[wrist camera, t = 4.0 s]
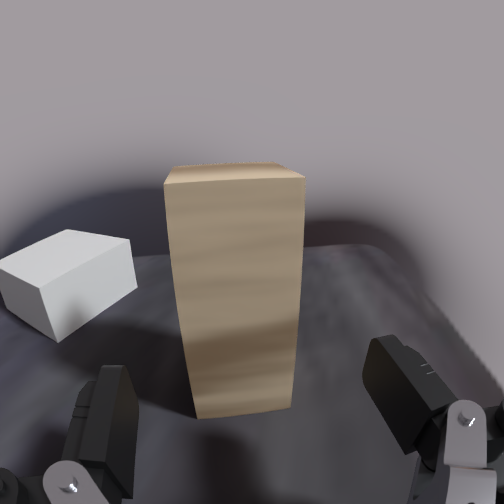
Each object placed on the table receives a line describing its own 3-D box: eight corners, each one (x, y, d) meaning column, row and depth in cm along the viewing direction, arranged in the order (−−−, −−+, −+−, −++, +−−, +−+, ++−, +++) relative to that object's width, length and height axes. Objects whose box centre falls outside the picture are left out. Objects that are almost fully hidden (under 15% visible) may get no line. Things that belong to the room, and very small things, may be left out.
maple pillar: (290, 407, 16) (305, 177, 11) (197, 419, 15) (163, 184, 11) (270, 352, 20) (273, 161, 16) (194, 359, 20) (173, 166, 15)
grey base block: (7, 310, 24) (-8, 264, 22) (75, 271, 32) (66, 229, 31) (59, 345, 20) (38, 288, 18) (137, 289, 29) (129, 239, 27)
